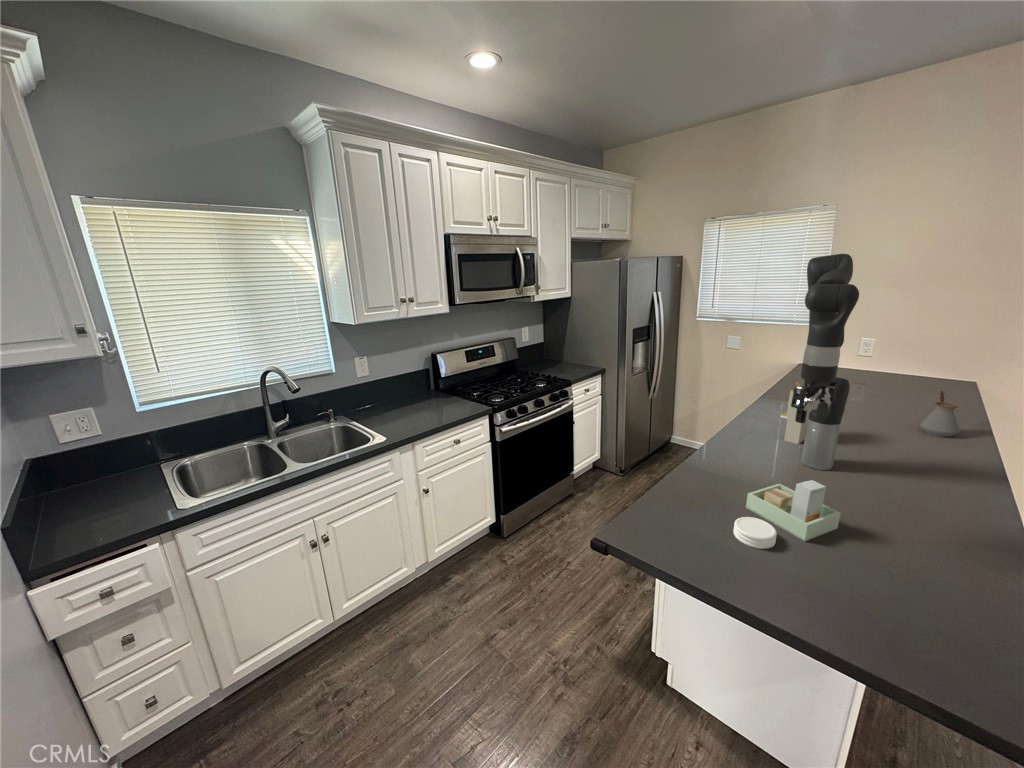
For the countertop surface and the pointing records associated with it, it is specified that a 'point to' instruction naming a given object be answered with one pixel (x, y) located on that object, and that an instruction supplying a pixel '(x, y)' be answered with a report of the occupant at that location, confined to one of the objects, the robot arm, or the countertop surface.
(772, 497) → the maple cube
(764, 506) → the tote
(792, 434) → the tall cream panel
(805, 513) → the skincare box
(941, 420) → the coffee pot
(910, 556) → the countertop surface
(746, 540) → the white round ribbed disc
